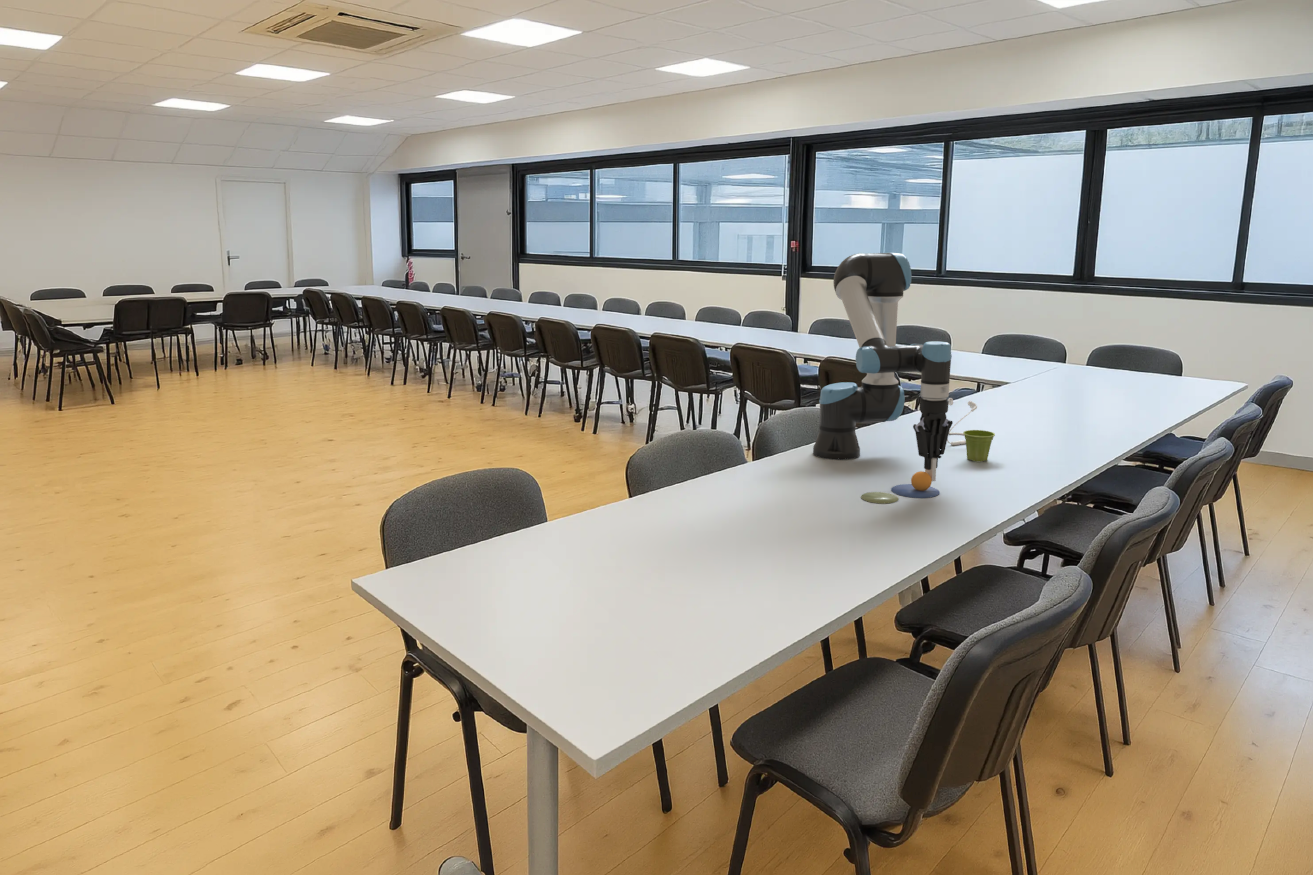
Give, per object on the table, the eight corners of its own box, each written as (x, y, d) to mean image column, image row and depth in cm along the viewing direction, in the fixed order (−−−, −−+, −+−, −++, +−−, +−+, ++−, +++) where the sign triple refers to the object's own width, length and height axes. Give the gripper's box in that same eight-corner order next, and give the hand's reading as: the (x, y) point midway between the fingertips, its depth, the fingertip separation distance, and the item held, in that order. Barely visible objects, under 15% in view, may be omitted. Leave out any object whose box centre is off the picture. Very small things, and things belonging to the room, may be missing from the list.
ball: (913, 491, 243) (903, 481, 240) (924, 475, 244) (914, 465, 241) (928, 496, 238) (918, 486, 236) (938, 480, 239) (929, 470, 236)
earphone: (918, 431, 295) (942, 393, 301) (933, 461, 305) (956, 424, 311) (954, 437, 285) (978, 398, 291) (968, 468, 295) (991, 429, 301)
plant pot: (995, 463, 267) (997, 436, 265) (963, 462, 269) (965, 435, 267) (990, 456, 276) (992, 430, 274) (959, 455, 278) (961, 429, 276)
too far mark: (853, 496, 236) (853, 495, 236) (881, 490, 240) (881, 490, 240) (878, 505, 227) (878, 504, 227) (906, 500, 232) (906, 499, 232)
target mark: (881, 488, 242) (881, 488, 242) (915, 482, 248) (915, 481, 248) (914, 500, 231) (914, 499, 231) (949, 493, 237) (949, 492, 237)
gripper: (927, 402, 230) (922, 486, 235) (961, 397, 236) (956, 479, 241) (907, 398, 236) (903, 480, 242) (941, 393, 242) (937, 473, 247)
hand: (930, 479), depth 241 cm, fingers closed
